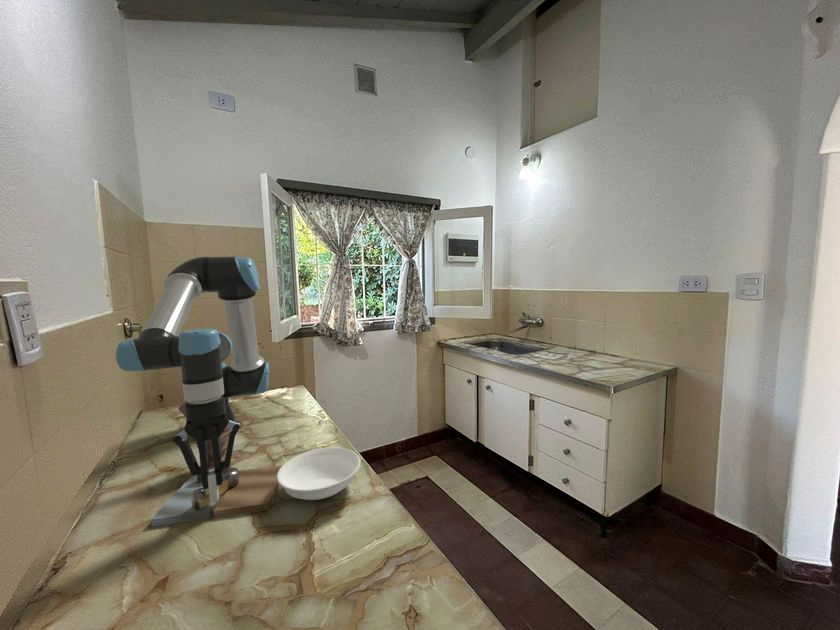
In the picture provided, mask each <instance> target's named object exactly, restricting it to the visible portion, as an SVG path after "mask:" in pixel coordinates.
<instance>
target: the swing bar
mask: <svg viewBox="0 0 840 630" xmlns="http://www.w3.org/2000/svg"><path fill="white" fill-rule="evenodd" d="M238 471H239V468H237V467H228V468H226V469H224V470H222V474H223V482H222V485H219V486H218V490H219V496H220V495H221V494H222V493H224V492H225V491H226V490H228V489H230V488H232V487H234V486H236V485H237V484H238V483H239V474H238ZM191 502H192V508H193V509H196V510H198V509H203V508H205V507H206V506H207V505H208V504H210V496H209V488H207V489H204V488H199V489H197V490H195V491H194V492H193V497H192V498H191Z"/></svg>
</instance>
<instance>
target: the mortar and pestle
mask: <svg viewBox="0 0 840 630" xmlns="http://www.w3.org/2000/svg"><path fill="white" fill-rule="evenodd" d="M186 403H187V402H184V403H183V404H182V405H180V406H179V407H178V410H179V412H180V413H181V414H182V415H184V417H186V412H185V404H186ZM229 435H230V432H229V431H228V426H226V428H225V429H224V431H223V432H222V434H221V435H220V450H221V460H222V461H224V460H225V456H226V451H227V445H228V440H229ZM195 443H196V446H197V448H198V450H199V447H198V441H196V440H195ZM207 452H208V463H209V468H211V467H214V458H213V448H212V441H211V440H207ZM231 465H232V460H231V461H230V466H229V467H228V468H231ZM225 469H227V468H224V469H223V470H225ZM223 470H222V471H223Z"/></svg>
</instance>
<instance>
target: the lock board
mask: <svg viewBox="0 0 840 630" xmlns="http://www.w3.org/2000/svg"><path fill="white" fill-rule="evenodd" d="M283 465H284V464H283ZM283 465H276V466H266V467H265V466H264V467H258V468H251V469H241V470H238V474H239V483H238V484H237V485H236V486H234V487H232V488H230V489H228V490H226V491H225V492H224V493H222V494H221V495H220V496H219V498H218V502H215V503H211V504H208V505H207V506H206V507H205V508H203V509H198V510H196V509H193V508H192V502H191V498H192V497H193V492H194V491H195V490H197V489H199V488H203V483H202V476H201V475H195V476H193V475H191V476H190V477H189V478H188V479H187V480H186V481H185V482H184V483H183V484H182V486H181V487H180V488H178V490H177V491H176V492H175V493H174V495H172V496H171V497H170V498H169V499H168V501H167V502H166V503H164V505H162V507H161V508H160V509H159V511H158V512H157V513H155V515H154V516H153V517H152V518H151V520H150V521H151V527H157V526H158V527H159V526H164V525H165V526H166V525H174V524H179V523H186V522H195V521H200V520H207V519H216V518H221V517H229V516H236V515H244V514H252V513H258V512H265V511H270V509H271V507H272V505H273V502H274V500H275V497H276V496H277V493H278V490H279V488H280V487H281V485H280V484H279V483H278V481H277V474H278V471H279V470H280V468H281V467H282V466H283ZM212 469H215V468H214V467H211V468H209V470H212Z"/></svg>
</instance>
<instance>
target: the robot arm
mask: <svg viewBox="0 0 840 630" xmlns="http://www.w3.org/2000/svg"><path fill="white" fill-rule="evenodd" d="M163 286H164V291H163V292H162V294H161V295H160V297H159V300H158V301H157V302H156V305H155V307H154V309H153V310H152V312H151V314H150V316H149V317H148V319H147V322H146V323H145V325H144V327H143V329H142V330H141V332H140V333H139V335H138V337H137V338H134V337H133V338H129V339H124V340H122V341H120V342H119V343H118V344H117V346H116V351H115V361H116V363H117V365H118V367H119V368H120V369H121V370H122V371H124V372H146V371H152V370H153V371H154V370H156V371H157V370H162V369H164V370H165V369H173V368H180V369H181V379H182V392H183V401H185V403H186V404H185V412H186V416H185V419H186V420H185V425H184V427H183V429H182V430H180V431H179V432H177V433H175V434H174V435H173V437H172V442H173V443H175V445H177V446H178V448H179V449H180V452H181V454H182V457H183V459H184V461H185V463H186V465H187V468H188V470H189V472H190V474H191V476H197V475H201V476H202V483H203V488H204V489H207V488H209V496H210V504H211V503H215V502H218V498H219V490H218V486H219V485H222V482H223V474H222V471H223V469H224V468H226V469H228V468H230V467H231V465H230V461H231V462H232V454H233V450H234V444H235V440H236V439H235V438H236V435H237V433H238V431H239V430H240V428H241V421H237V420H236V415H235V413H234V410H233V408H232V406H231V404H230V401H229V398H233V397H235V398H236V397H242V396H247V395H248V396H249V395H255V396H256V395H257V394H263V393H265V392H267V390H268V388H269V379H270V378H269V376H270V363H269V362H265V359H264V357H263V356H261V355H260V352H259V343H258V338H257V337H258V335H257V329H256V321H255V313H254V305H253V299H254V298H255V297H256V296H257V291H259V290H260V287H261V285H260V276H259V272H258V269H257V267H256V263H255V262H254V260H253V259H252V258H250V257H247V256H244V257H243V256H237V255H236V256H200V257H199V256H198V257H194V258H191V259H189V260H187V261H184V262H182V263H181V264H179V265H178V266H176V267H175V268H173V270H171V271H170V273H169V274H168V276H166V278H165V280H164V285H163ZM202 293H203V294H204V293H217V297H218V300H221V301H222V302H224V308H225V313H226V314H225V315H226V320H227V325H228V332H229V333H228V334H229V335H227V334H226V333H223V332H220V331H218V330H217V329H215V328H198V329H190V330H183V331H182V328H183V326H184V325H185V322H186V319H187V317H188V314H189V313H190V311H191V307H192V305H193V303H194V301H195V299H196V298H198V297H200V295H201V294H202ZM181 331H182V332H181ZM231 353H232V355H233V360H231V362H230V364H229V365H230V366H227V364H226V363H225V362H223V361H224V360H226V359H228V357H229V356H230V354H231ZM226 426H228V431H229V432H230V435H229V440H228V445H227V450H226V451H225V455H226V456H225V460H224V461H222V460H221V450H220V435H221V434H222V432H223V431H224V429H225V428H226ZM188 435H189V436H190V437H191V438H192V439H194V440H195V442H196V441H198V447H199V449H198V457H199V462H198V461H197V458H196V456H195V453H194V451H193V449H192V447H191V444H190V441H189V440H188V438H189V436H188ZM207 440H211V441H212V448H213V458H214V468H215V469H212V470H209V463H208V452H207ZM198 447H197V448H198ZM229 466H230V467H229ZM224 470H225V469H224Z"/></svg>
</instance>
